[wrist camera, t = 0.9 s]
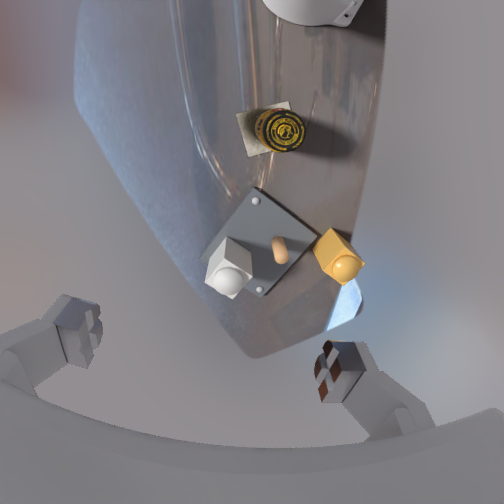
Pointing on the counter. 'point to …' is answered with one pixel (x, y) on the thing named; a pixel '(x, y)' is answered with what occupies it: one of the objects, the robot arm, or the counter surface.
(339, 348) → the robot arm
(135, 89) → the counter surface
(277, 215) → the plate
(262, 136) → the condiment
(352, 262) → the yellow knob block
